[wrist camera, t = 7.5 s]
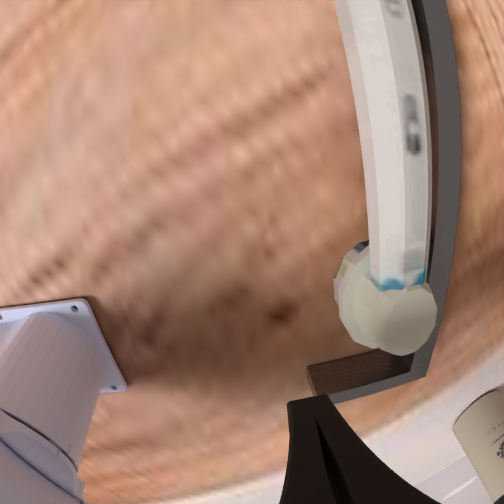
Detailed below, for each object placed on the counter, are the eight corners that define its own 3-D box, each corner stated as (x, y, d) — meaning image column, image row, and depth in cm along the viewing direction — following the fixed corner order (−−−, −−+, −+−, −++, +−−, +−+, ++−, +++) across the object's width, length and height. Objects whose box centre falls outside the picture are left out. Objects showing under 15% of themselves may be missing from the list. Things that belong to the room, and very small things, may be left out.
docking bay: (307, 377, 22) (317, 407, 20) (254, -93, 9) (261, -120, 7) (408, 351, 23) (425, 376, 20) (390, -77, 10) (412, -95, 7)
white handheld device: (402, -94, 7) (452, 370, 14) (359, -43, 13) (400, 317, 20) (304, -114, 7) (367, 399, 14) (281, -50, 13) (329, 333, 20)
